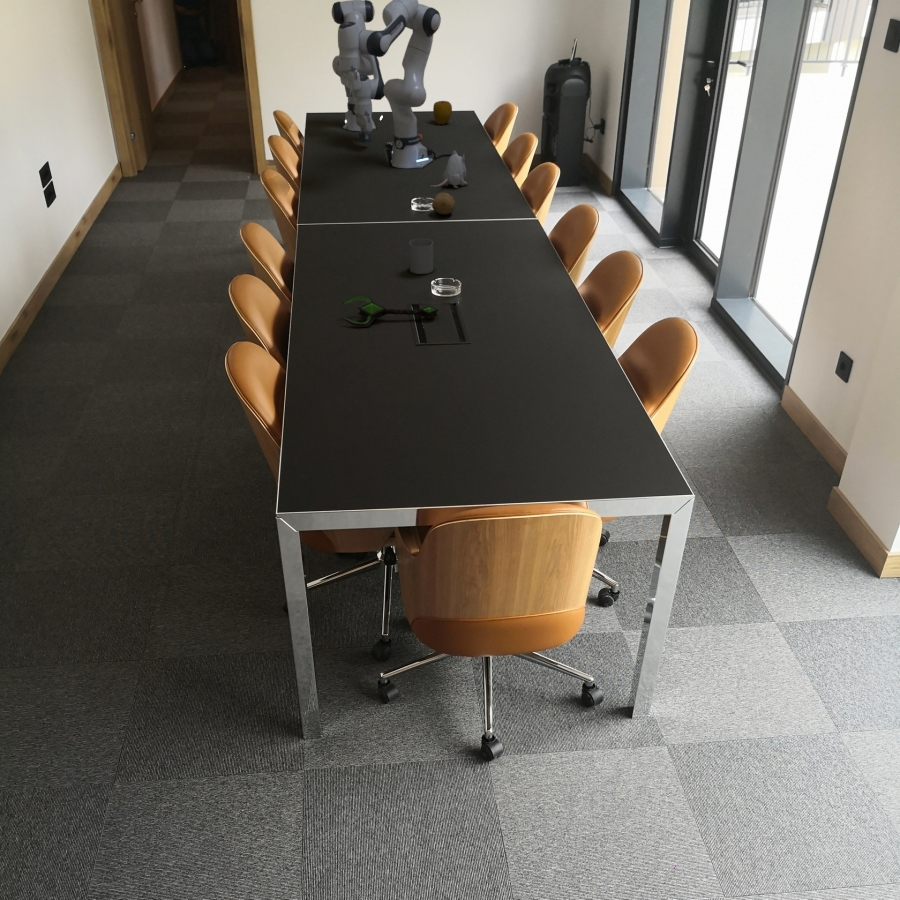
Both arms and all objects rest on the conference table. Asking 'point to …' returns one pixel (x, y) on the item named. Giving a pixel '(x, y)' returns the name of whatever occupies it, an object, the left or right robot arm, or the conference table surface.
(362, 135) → the block
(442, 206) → the potato
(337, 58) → the left robot arm
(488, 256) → the conference table surface
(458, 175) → the toy
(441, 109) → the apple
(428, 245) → the cup
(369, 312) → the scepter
